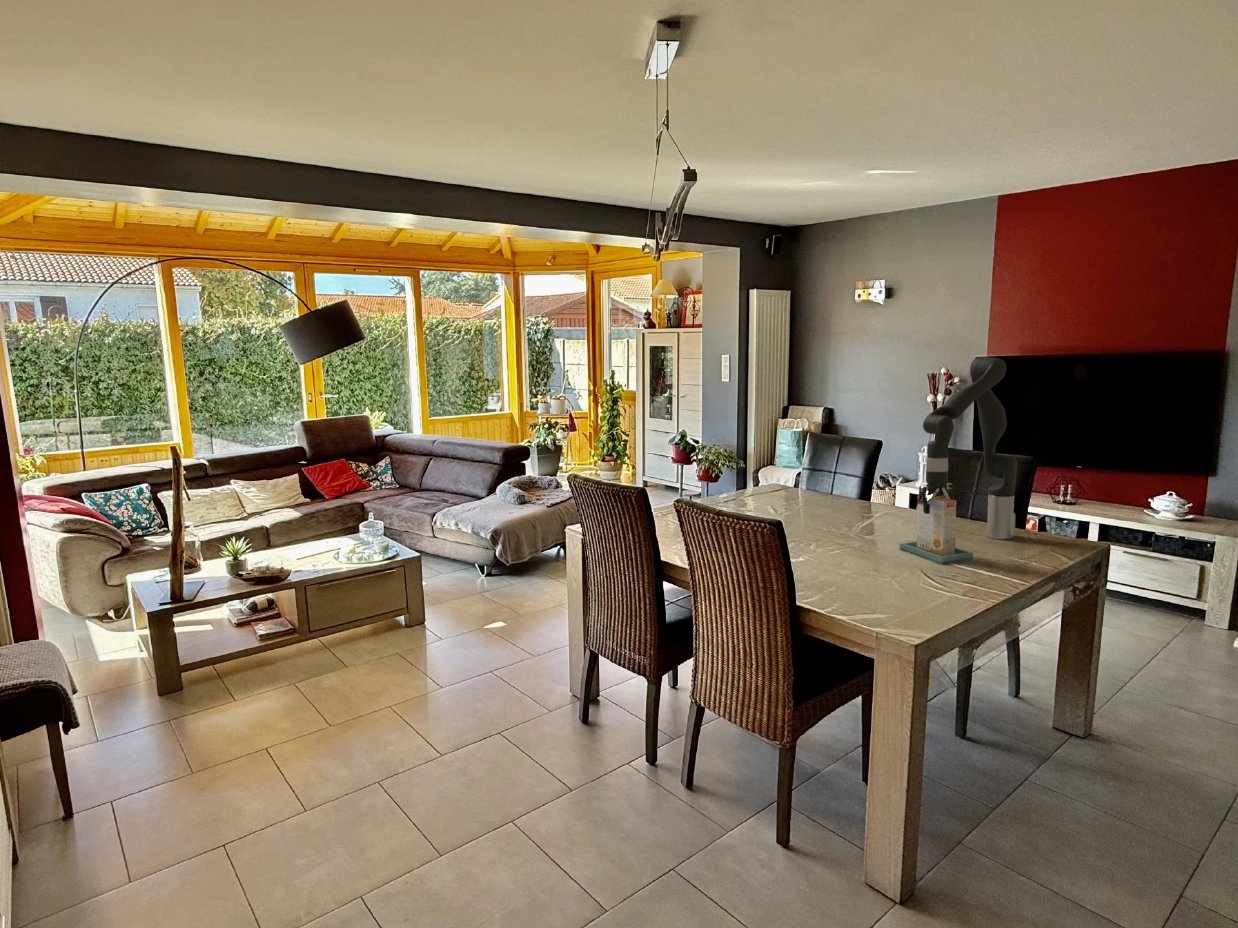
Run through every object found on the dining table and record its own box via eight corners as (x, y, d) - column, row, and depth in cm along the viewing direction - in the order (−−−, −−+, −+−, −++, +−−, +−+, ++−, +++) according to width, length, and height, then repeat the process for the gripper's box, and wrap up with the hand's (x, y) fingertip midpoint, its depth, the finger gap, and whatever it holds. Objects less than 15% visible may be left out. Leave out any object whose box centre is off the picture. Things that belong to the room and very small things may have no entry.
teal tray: (929, 545, 287) (929, 539, 287) (972, 559, 266) (972, 552, 266) (899, 549, 283) (899, 543, 282) (941, 564, 262) (941, 557, 262)
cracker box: (955, 555, 269) (957, 499, 266) (942, 557, 267) (943, 501, 264) (928, 546, 282) (929, 493, 279) (915, 548, 280) (916, 495, 277)
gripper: (945, 466, 276) (944, 508, 278) (914, 469, 271) (913, 512, 274) (960, 469, 268) (959, 512, 271) (928, 472, 264) (927, 516, 266)
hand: (936, 512), depth 272 cm, fingers open, 8 cm apart
